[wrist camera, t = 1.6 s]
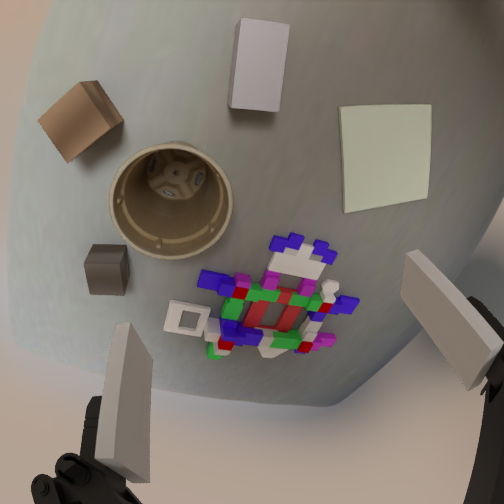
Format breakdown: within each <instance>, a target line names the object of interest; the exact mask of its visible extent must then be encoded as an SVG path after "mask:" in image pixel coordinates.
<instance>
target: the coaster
mask: <svg viewBox="0 0 504 504" xmlns="http://www.w3.org/2000/svg"><path fill="white" fill-rule="evenodd" d="M338 114H339V127H340V143H341V162H342V191H343V212H344V213H349V212H355V211H360V210H365V209H371V208H376V207H381V206H387V205H392V204H397V203H403V202H408V201H414V200H419V199H425V198H427V195H428V184H429V171H430V154H431V105H430V104H377V105H355V106H340V107H338Z"/></svg>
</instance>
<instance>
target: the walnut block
mask: <svg viewBox="0 0 504 504" xmlns="http://www.w3.org/2000/svg"><path fill="white" fill-rule="evenodd" d="M123 120H124V119H123V118H122V116H121V115H120V113H119V112H118V110H117V109H116V107H115V106H114V104H113V103H112V102H111V100H110V99H109V97H108V96H107V94H106V93H105V91H104V90H103V88H102V87H101V85H100V84H99V82H98V81H97V80H96V81H85V82H79V83H78V84H77V85H75V86H74V87H73V88H72V89H71V90H70V91H68V92H67V93H66V94H65V95H64V96H63V97H62V98H60V99H59V100H58V101H57V102H56V103H55V104H54V105H53V106H52V107H51V108H50V109H49V110H48V111H47V112H46V113H44V114H43V115H42V116H41V117H40V118H39V119H38V122H39V123H40V125H41V126H42V128H43V129H44V131H45V132H46V134H47V135H48V137H49V138H50V139H51V141H52V142H53V144H54V145H55V147H56V148H57V150H58V151H59V152H60V154H61V155H62V157H63V158H64V159H65V161H66V162H67V163H69V162H70V161H72V160H73V159H74V158H76V157H77V156H78V155H79V154H81V153H82V152H83V151H85V150H86V149H87V148H88V147H90V146H91V145H92V144H93V143H95V142H96V141H97V140H98V139H100V138H101V137H102V136H103V135H105V134H106V133H107V132H109V131H110V130H111V129H113V128H114V127H115V126H117V125H118V124H119V123H121V122H122V121H123Z"/></svg>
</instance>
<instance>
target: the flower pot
mask: <svg viewBox="0 0 504 504" xmlns="http://www.w3.org/2000/svg"><path fill="white" fill-rule="evenodd" d="M181 150H183V151H181ZM185 151H187V152H190V153H187V152H185ZM153 159H155V160H156V162H155V164H154V168H153V171H150V163H151V161H152V160H153ZM174 171H177V172H178V175H175V174H174ZM198 173H201V174H202V179H201V181H200V182H199V184H198V185H196V184H195V181H196V178H197V176H198ZM164 190H165V191H170V192H172V193H174V195H169V194H166V193H164ZM109 208H110V214H111V218H112V221H113V223H114V226H115V228H116V229H117V231H118V233H119V234H120V235H121V237H122V238H123V239H124V240H125V241H126V243H128V244H129V245H130V246H131V247H132V248H134V249H136V250H137V251H139V252H141V253H142V254H145V255H147V256H150V257H153V258H159V259H165V260H176V259H184V258H188V257H191V256H194V255H197V254H199V253H201V252H203V251H205V250H206V249H208V248H209V247H211V246H212V245H213V244H214V243H215V242H216V241H217V240H218V239H219V238H220V237H221V236H222V234H223V233H224V232H225V230H226V228H227V226H228V224H229V221H230V218H231V215H232V209H233V195H232V190H231V186H230V183H229V181H228V178H227V176H226V175H225V173H224V171H223V170H222V169H221V167H220V166H219V165H218V164H217V163H216V162H215V161H214V160H213V159H212V158H211V157H209V156H208V155H207V154H205V153H203V152H202V151H200V150H198V149H197V148H196V147H194V146H192V145H190V144H188V143H185V142H169V143H165V144H160V145H155V146H151V147H148V148H146V149H143V150H141V151H139V152H138V153H136V154H135V155H133V156H132V157H130V158H129V159H128V160H127V161H126V162H125V163H124V164H123V165H122V166H121V168H120V169H119V171H118V172H117V174H116V175H115V178H114V180H113V183H112V185H111V190H110V195H109Z"/></svg>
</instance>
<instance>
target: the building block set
mask: <svg viewBox="0 0 504 504" xmlns="http://www.w3.org/2000/svg"><path fill="white" fill-rule="evenodd" d="M303 241H304V236H302V235H299V234H295V233H291V232H290V234H289V236H288V239H287V238H283V237H279V236H275V235H274V236H273V239H272V241H271V243H270V246H269V250H271V251H274V253H273V255H272V257H271V260H270V262H269V264H268V266H267V269H266V271H265V273H264V275H263V278H262V280H261V282H260V284H257V283H252V282H251V279H250V275H246V274H241V273H236V274H235V277H234V278H232V277H229V275H227V274H222V273H217V272H212V271H207V270H201V273H200V276H199V280H198V283H197V287H200V288H205V289H210V290H215V291H217V295H220V296H226V299H225V302H224V305H223V307H222V310H221V316H220V318H219V319H218V318H212V317H209V314H210V311H211V307H207V306H202V305H196V304H191V303H186V302H181V301H175V300H170V303H169V307H168V311H167V315H166V319H165V323H164V328H163V331H168V332H173V333H179V334H185V335H191V336H197V337H201V336H202V333H203V330H204V339H205V341H209V342H210V343H209V346H208V349H207V356H208V359H216V360H220V358H222V356H227V355H229V354H230V352H231V350H232V347H233V345H237V346H243V344H244V345H252V346H257V347H258V349H259V351H260V353H261V355H262V357H264V358H274V357H276V356H278V355H280V354H282V353H283V352H285V351H287V350H288V349H289V350H292V349H294V352H295V353H303V354H305V353H309V351H310V350H313V351H317V350H318V349H319V347H320V346H327V347H332V345H333V344H334V342H335V341H336V337H335V335H334V334H330V333H321V332H318V330H319V329H320V327H321V325H322V324H323V321H322V320H323V319H324V317H325V315H326V314H327V313H329V314H336V315H338V314H339V313H344V314H352V312H353V311H354V309H355V308H356V306H357V304H358V303H359V301H360V300H359V299H358V298H354V297H349V296H343V295H340V296H339V298H338V297H335V296H334V293H335V292H336V291H337V290H339V282H338V281H335V280H330V279H327V280H325V281H324V282H322V283H321V288H322V289H321V291H320V293H319V294H316V293H313V292H314V290H315V288H316V286H315V284H316V282H317V280H318V278H319V276H320V274H321V273H322V271H323V269H324V267H325V265H326V264H330V265H332V263H333V262H334V260H335V258H336V256H337V254H338V253H337V252H336V251H333V250H329V249H327V248H328V246H329V244H328V242H324V241H321V240H317V239H316V240H315V242H314V244H313V245H310V244H306V243H303ZM281 273H284V274H289V275H293V276H298V277H303V279H302V280H301V282H300V284H299V286H298V288H297V290H294V289H289V288H283V287H278V286H277V285H278V283H279V281H280V279H279V277H280V275H281ZM244 300H248V301H252V302H251V304H250V306H249V308H248V310H247V313H246V315H245V317H244V319H243V322H237V320H238V318H239V316H240V313H241V311H242V309H243V306H244ZM269 302H276V303H282V304H287V305H286V307H285V309H284V310H283V312H282V314H281V316H280V318H279V320H278V322H277V324H276V325H275V327H271V326H264V325H259V323H260V321H261V319H262V317H263V315H264V313H265V311H266V309H267V307H268V305H269ZM303 307H305V308H306V310H309V311H308V312H307V313H308V315H309V316H307V318H306V320H305V321H304V322H302V324H301V326H300V327H299V329H298V330H294V329H291V327H292V325H293V323H294V322H295V320H296V318H297V316H298V315H299V313H300V311H301V309H302V308H303ZM183 310H184V311H190V312H195V313H201V314H200V317H199V320H198V323H197V326H196V329H194V328H188V327H182V326H179V322H180V319H181V315H182V312H183Z"/></svg>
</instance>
